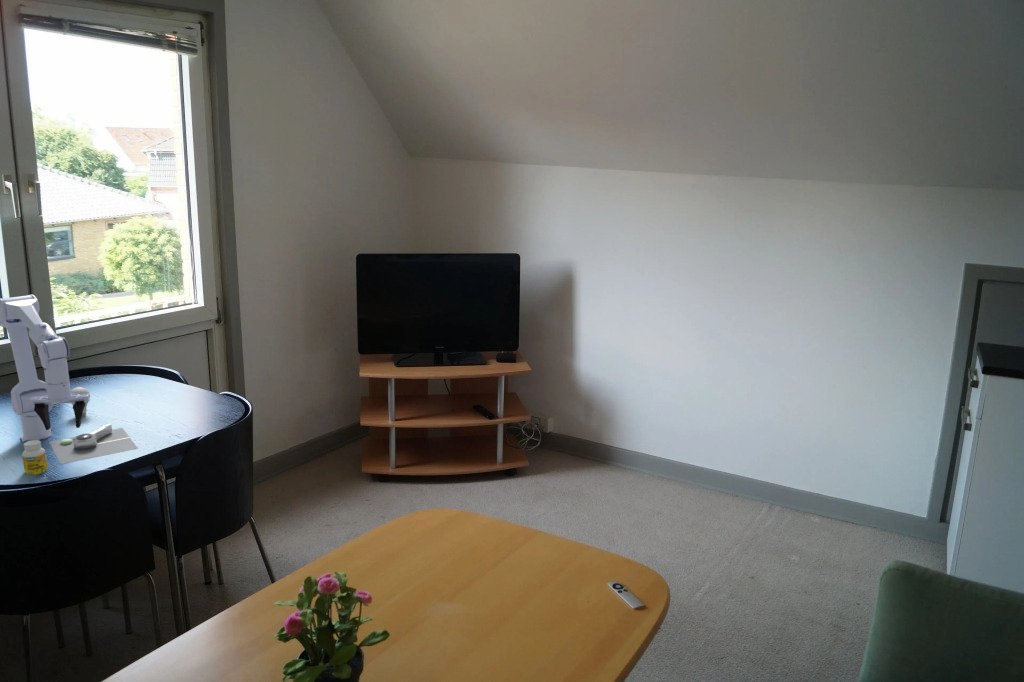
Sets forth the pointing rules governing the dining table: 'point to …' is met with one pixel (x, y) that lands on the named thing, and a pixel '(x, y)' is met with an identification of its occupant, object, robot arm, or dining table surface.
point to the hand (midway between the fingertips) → (63, 427)
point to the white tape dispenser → (91, 438)
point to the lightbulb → (81, 391)
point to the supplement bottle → (34, 458)
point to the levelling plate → (105, 446)
